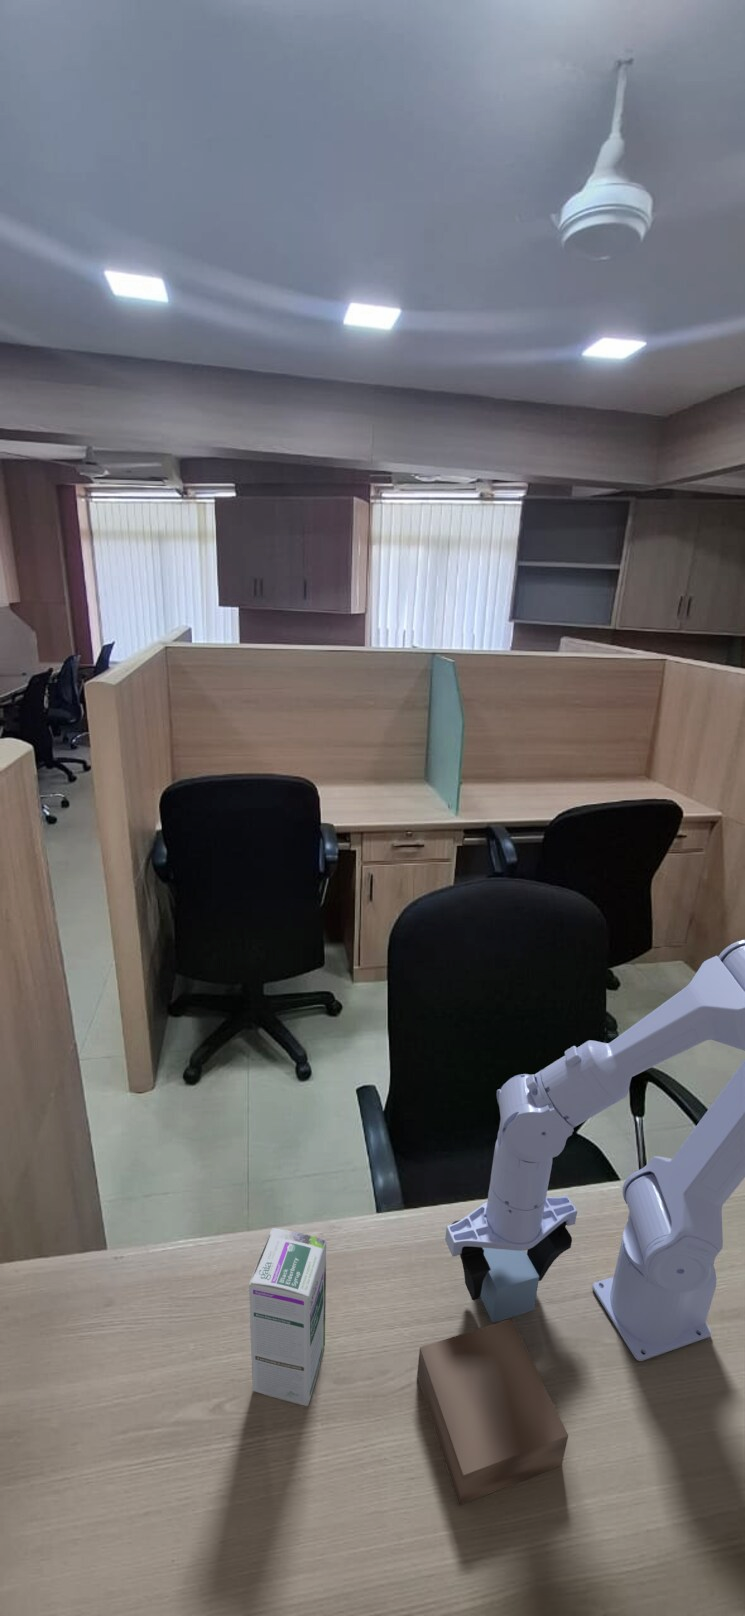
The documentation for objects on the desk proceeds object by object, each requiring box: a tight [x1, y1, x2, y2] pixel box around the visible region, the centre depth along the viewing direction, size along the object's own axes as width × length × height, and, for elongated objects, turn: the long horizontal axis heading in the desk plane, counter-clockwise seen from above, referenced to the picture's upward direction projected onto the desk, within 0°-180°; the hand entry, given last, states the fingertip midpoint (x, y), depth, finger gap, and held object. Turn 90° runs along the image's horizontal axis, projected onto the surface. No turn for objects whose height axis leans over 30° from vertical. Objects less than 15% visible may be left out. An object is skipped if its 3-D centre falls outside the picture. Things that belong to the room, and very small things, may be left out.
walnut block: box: [416, 1318, 569, 1506], centre depth 60 cm, size 10×10×4 cm
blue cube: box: [479, 1247, 540, 1324], centre depth 71 cm, size 5×5×5 cm
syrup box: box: [248, 1227, 327, 1407], centre depth 62 cm, size 6×6×14 cm
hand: (503, 1281), depth 71 cm, fingers open, 7 cm apart
